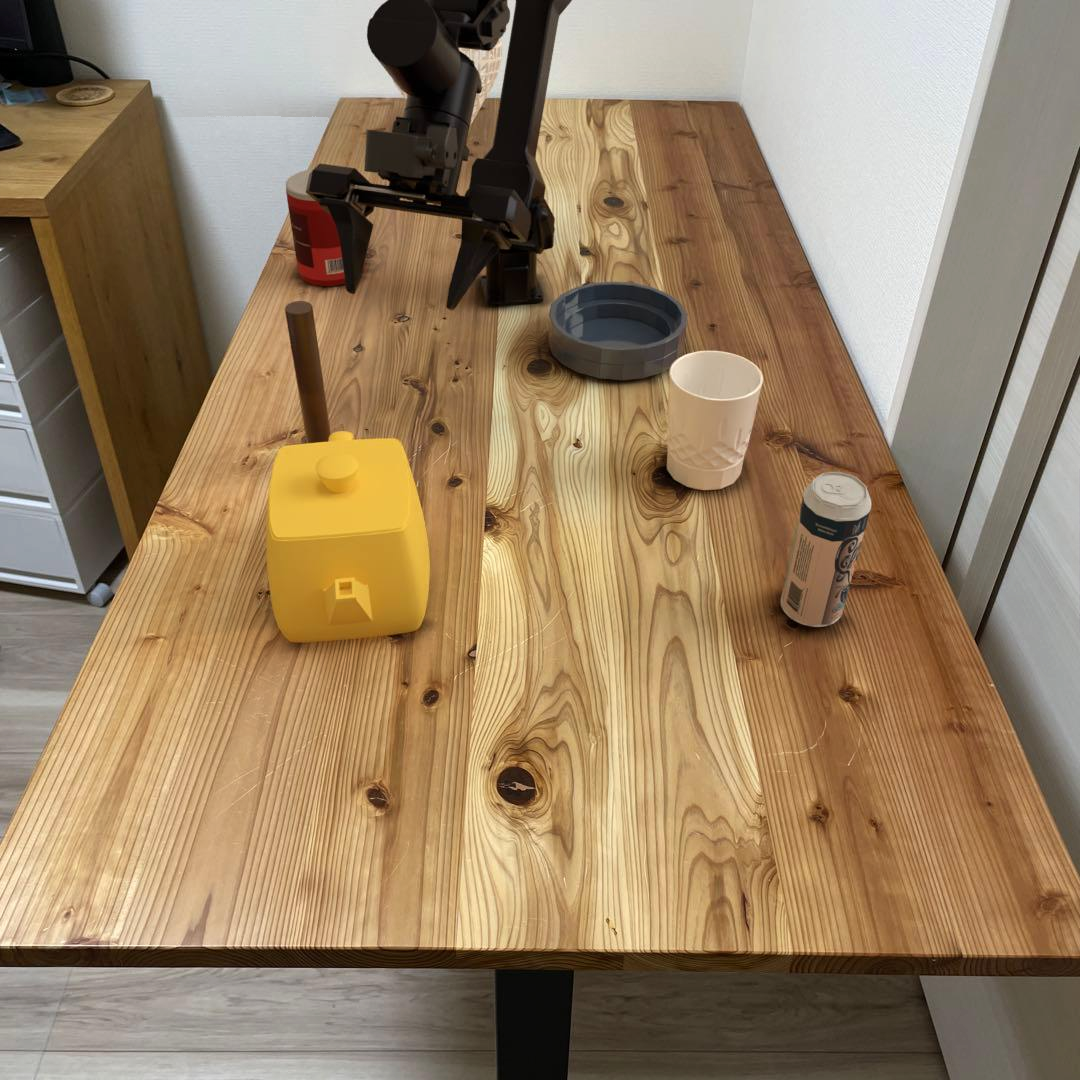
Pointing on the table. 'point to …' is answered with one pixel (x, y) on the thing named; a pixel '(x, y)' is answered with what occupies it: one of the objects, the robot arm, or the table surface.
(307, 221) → the canned food
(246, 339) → the table surface
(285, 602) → the teapot
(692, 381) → the white cup
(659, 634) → the table surface
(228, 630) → the table surface
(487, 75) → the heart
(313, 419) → the stirring stick
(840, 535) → the beer can
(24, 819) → the table surface
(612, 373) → the bowl
